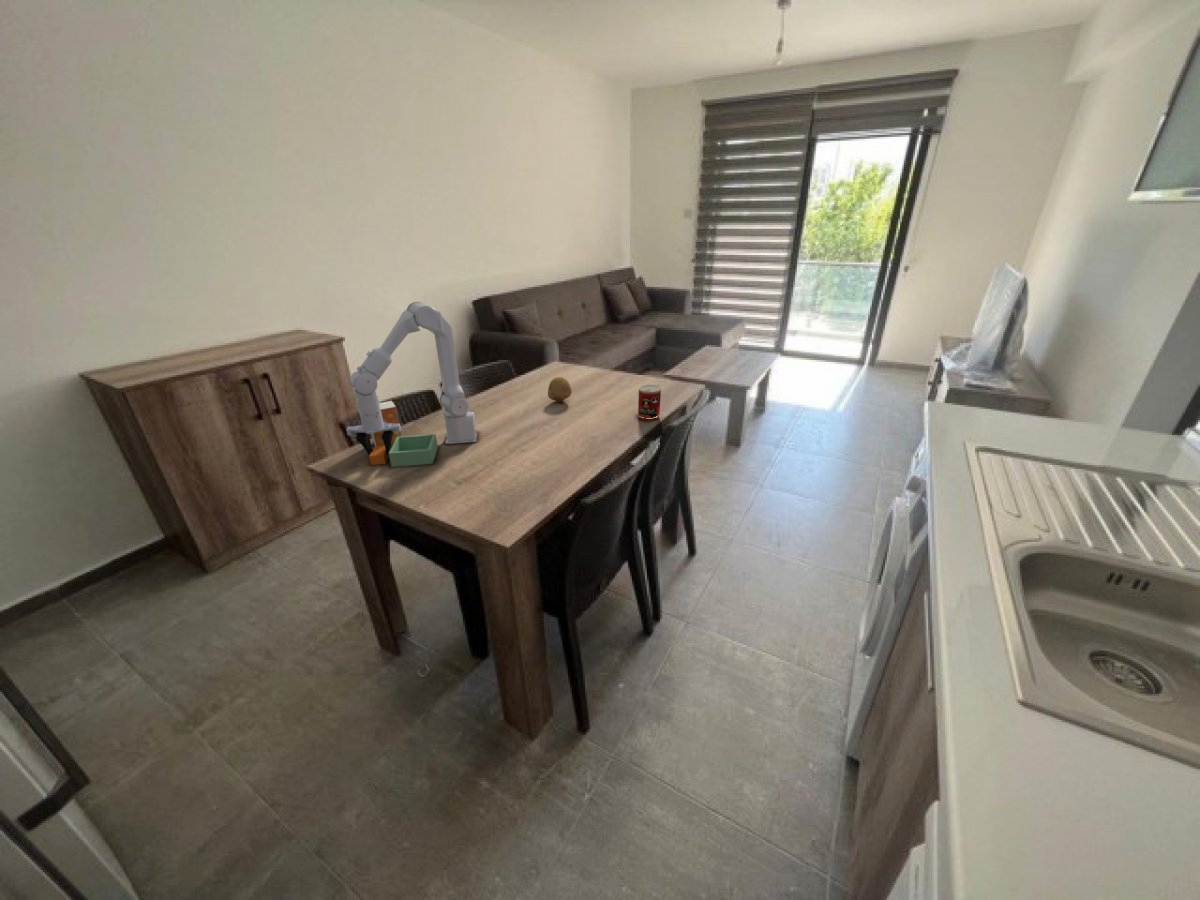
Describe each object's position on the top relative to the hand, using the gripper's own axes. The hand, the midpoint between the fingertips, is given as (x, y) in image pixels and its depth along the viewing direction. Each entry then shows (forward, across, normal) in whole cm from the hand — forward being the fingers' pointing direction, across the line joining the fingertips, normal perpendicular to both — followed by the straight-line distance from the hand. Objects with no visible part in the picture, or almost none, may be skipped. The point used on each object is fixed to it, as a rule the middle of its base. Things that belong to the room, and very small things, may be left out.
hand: (380, 454), depth 144 cm
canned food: (+2, +88, +18) cm, 90 cm away
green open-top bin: (+2, +10, 0) cm, 10 cm away
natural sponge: (+2, +58, +39) cm, 70 cm away
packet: (+2, 0, 0) cm, 2 cm away
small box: (+2, 0, +11) cm, 11 cm away
